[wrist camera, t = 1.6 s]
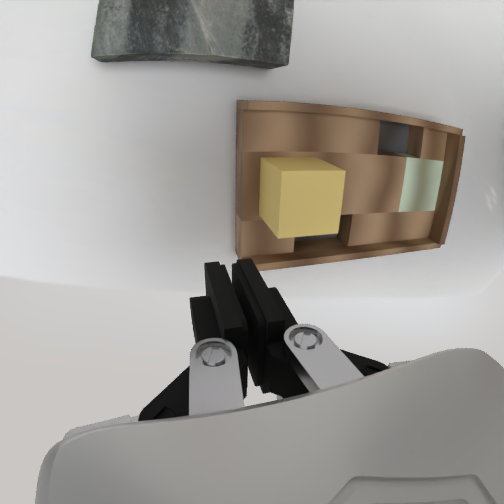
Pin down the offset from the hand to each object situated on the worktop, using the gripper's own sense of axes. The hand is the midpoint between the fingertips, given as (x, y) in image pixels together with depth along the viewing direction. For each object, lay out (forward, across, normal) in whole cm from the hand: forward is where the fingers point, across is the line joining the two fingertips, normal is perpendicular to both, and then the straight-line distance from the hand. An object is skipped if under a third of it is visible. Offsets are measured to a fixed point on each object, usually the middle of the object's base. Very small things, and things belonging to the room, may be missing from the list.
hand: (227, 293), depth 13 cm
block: (+15, -8, 0) cm, 17 cm away
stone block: (+18, 0, -15) cm, 23 cm away
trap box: (+17, -16, 0) cm, 23 cm away
